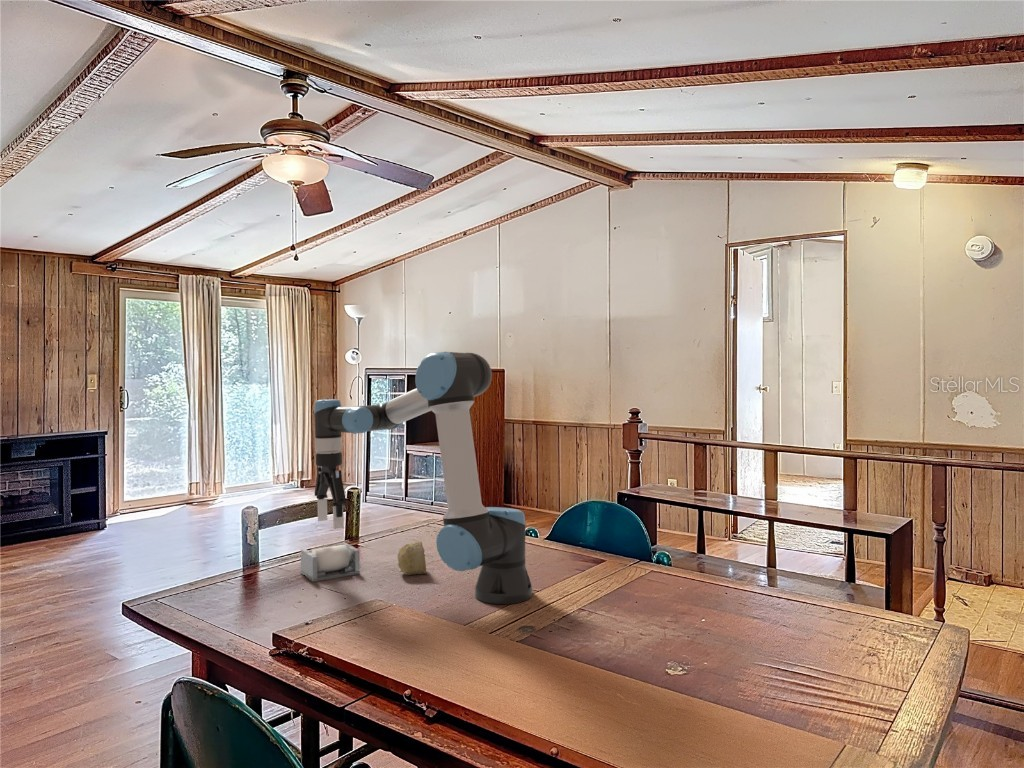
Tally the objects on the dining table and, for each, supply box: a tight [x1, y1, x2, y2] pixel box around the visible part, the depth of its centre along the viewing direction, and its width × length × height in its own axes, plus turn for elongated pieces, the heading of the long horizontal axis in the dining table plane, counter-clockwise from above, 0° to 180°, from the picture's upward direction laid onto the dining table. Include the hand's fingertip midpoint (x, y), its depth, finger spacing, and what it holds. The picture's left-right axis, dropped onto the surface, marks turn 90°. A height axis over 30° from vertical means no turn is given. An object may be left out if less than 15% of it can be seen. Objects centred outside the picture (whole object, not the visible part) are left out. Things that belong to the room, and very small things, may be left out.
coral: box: [397, 540, 428, 576], centre depth 207 cm, size 10×10×10 cm
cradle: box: [300, 542, 361, 583], centre depth 208 cm, size 14×11×7 cm
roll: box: [311, 544, 349, 572], centre depth 208 cm, size 9×7×7 cm
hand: (330, 524), depth 208 cm, fingers open, 13 cm apart
